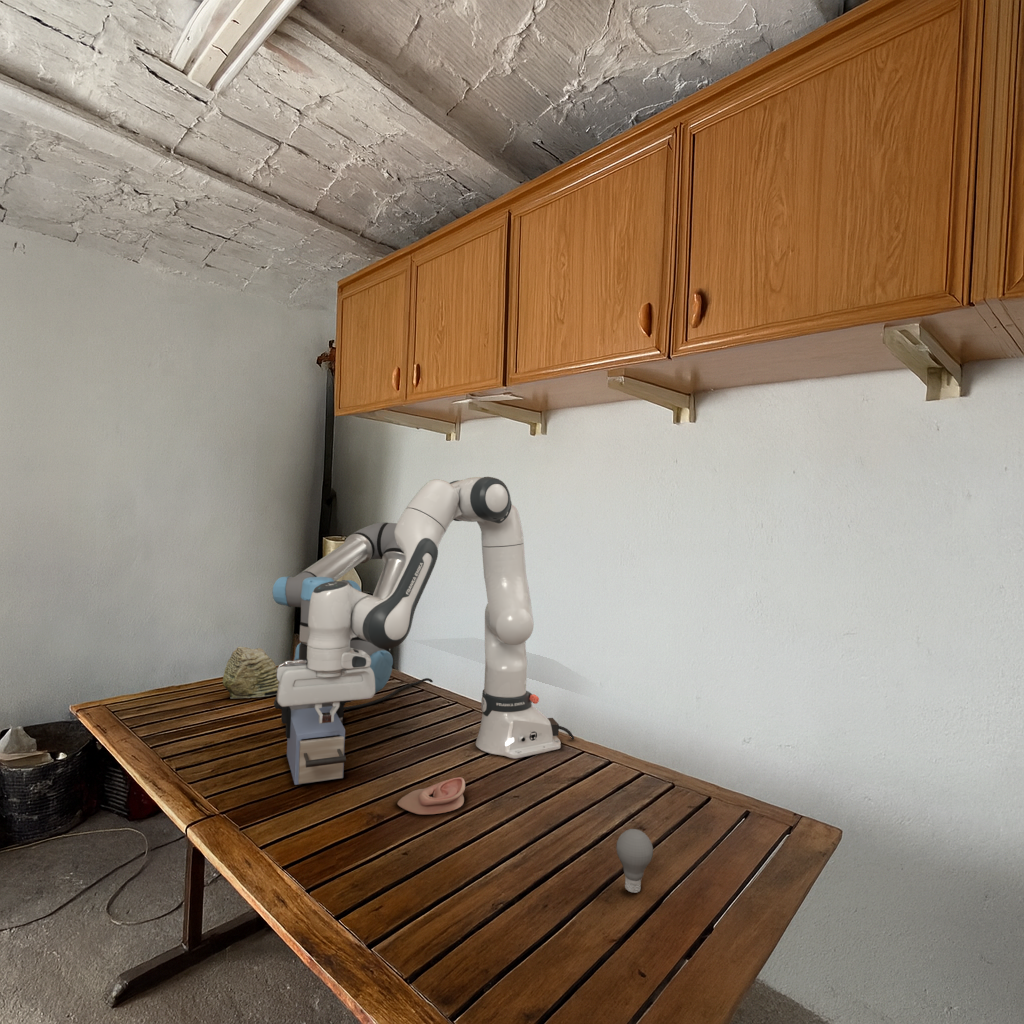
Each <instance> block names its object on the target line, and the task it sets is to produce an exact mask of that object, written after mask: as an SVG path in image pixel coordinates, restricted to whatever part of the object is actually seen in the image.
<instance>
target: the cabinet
mask: <svg viewBox="0 0 1024 1024" xmlns="http://www.w3.org/2000/svg"><path fill="white" fill-rule="evenodd" d="M332 707H333V706H327V707H322V708H319V709H320V710H321V712H322V713H327V712H330V710H331V708H332ZM334 735H337V737H339V736H343V737H344V748H345V747H346V746H345V743H346V742H345V741H346V729H345V726H344V725H343V722H342V723H341V721H340V719H339V717H338V715H337V713H335V714H334V722H330V723H321V724H319V714H318V713H317V711H316V709H315V708H306V709H296V710H291V726H290V738H286V758H287V761H288V765H289V768H290V769H289V770H290V773H291V777H292V781H293V784H294V785H295V786H297V785H300V784H299V783H298V774H299V748H300V741H301V739H308V738H317V737H326V736H334ZM343 756H345V750H344V751H343ZM344 766H345V762H344V763H343V773H344V772H345V771H344V770H345V767H344ZM340 779H344V776H343V777H342V778H337V779H336V780H340ZM331 780H334V779H330V780H329V781H331ZM326 781H327V780H323V781H322V782H326ZM317 782H318V783H319V782H320V781H316V782H315V783H317ZM305 784H306V783H302V784H301V785H305ZM308 784H313V782H309V783H308Z"/></svg>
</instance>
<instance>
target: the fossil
mask: <svg viewBox="0 0 1024 1024" xmlns="http://www.w3.org/2000/svg"><path fill="white" fill-rule="evenodd" d="M277 668H278V667H277V665H276V663H275V662H274V660H273V659H272V658H271V657H270V656H269V655H268V654H267V653H266V652H265V650H264V649H263V648H260V647H258V648H251V647H247V646H246V647H245V646H238V647H237V648H236V649H235V650H233V651H232V653H231V656H230V657H229V659H228V660H227V663H226V666H225V668H224V671H223V675H222V676H223V677H222V685H223V687H224V688H225V690H226V691H228V693H229V698H230V699H250V698H264V697H271V696H276V695H277V690H278V684H279V682H278V681H277V678H276V671H277Z"/></svg>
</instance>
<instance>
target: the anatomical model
mask: <svg viewBox="0 0 1024 1024" xmlns="http://www.w3.org/2000/svg"><path fill="white" fill-rule="evenodd" d="M465 789H466V781H465V779H464V778H463V777H461V776H459V777H453V778H449V779H446V780H442V781H439V782H437V783H435V784H432V785H431V786H430V785H429V786H428V787H425V788H419V789H416V790H412V791H411V792H409V793H406V794H405V795H403V796H402V797H401V798H400V799H399V800H398V801H397V806H398V807H400V808H402V809H403V810H405V811H408V812H410V813H413V814H414V815H415V814H416V815H422V816H423V815H424V816H425V815H436V814H445V813H448V812H449V813H450V812H453V811H455V810H457V809H460V808H461V807H462V806H464V802H465V797H464V792H465Z"/></svg>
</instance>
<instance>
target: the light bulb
mask: <svg viewBox="0 0 1024 1024" xmlns="http://www.w3.org/2000/svg"><path fill="white" fill-rule="evenodd" d="M615 849H616V854H617V857H618V859H619V861H620V863H621V865H622V867H623V873H624V874H623V875H624V876H625V878H624V888H625V890H627V891H628V892H630V893H634V894H635V893H639V892H640V891H641V889H642V887H641V886H642V879H643V877H644V875H645V871H646V868H647V867H648V866H649V864H650V863H651V861H652V859H653V855H654V847H653V843H652V841H651V838H649V836H648V835H647V834H646V833H645V832H643V831H642V830H641V829H636V828H629V829H627V830H625V831H623V832H622V833H621V834H620V835H619V837H618V839H617V841H616V847H615Z"/></svg>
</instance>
